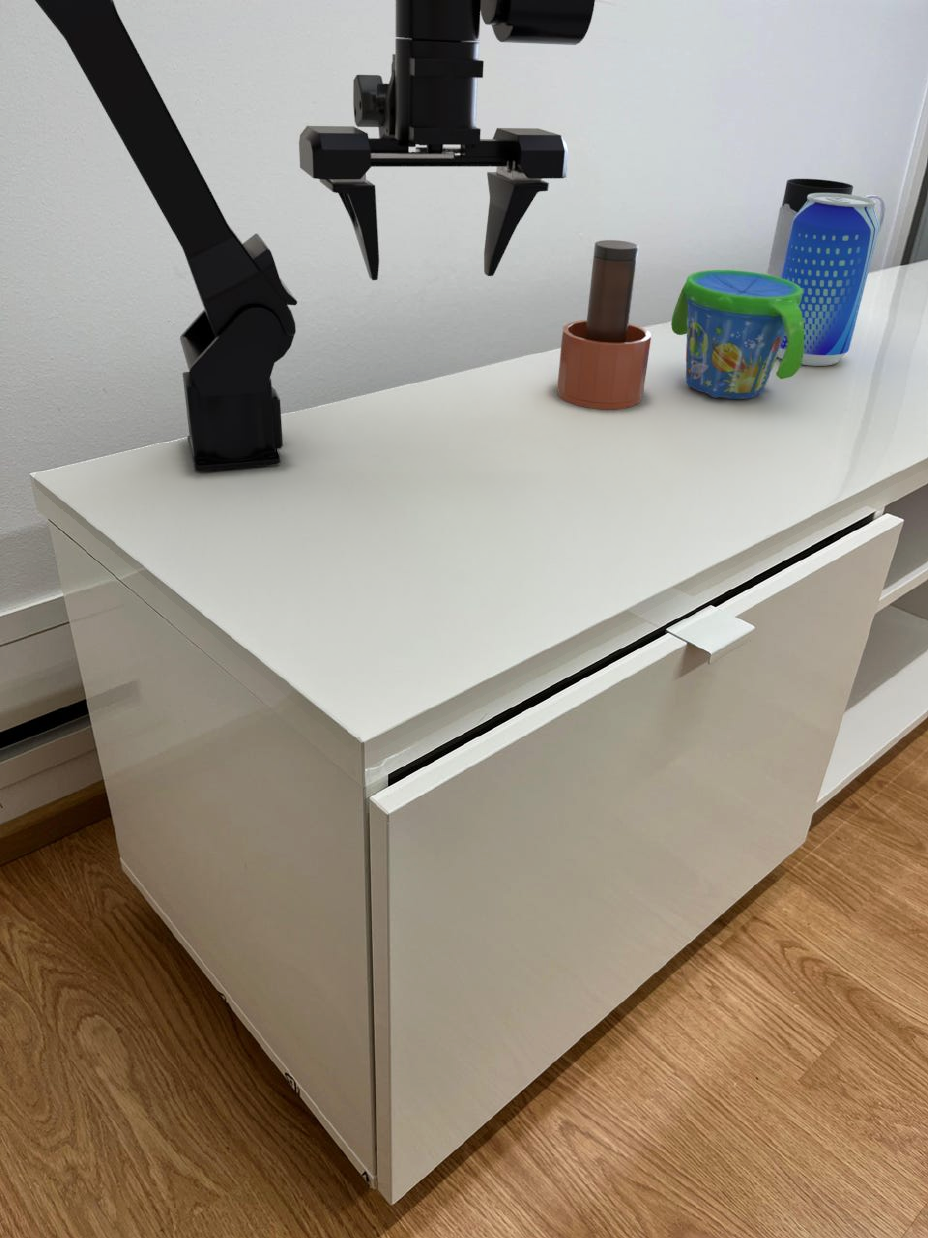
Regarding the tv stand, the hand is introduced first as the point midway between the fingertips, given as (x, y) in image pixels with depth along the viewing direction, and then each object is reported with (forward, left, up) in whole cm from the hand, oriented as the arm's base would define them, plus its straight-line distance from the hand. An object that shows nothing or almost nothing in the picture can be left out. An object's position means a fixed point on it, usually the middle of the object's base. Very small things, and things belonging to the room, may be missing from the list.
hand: (432, 276), depth 75 cm
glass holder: (+59, +30, -13) cm, 67 cm away
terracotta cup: (+19, +7, -13) cm, 24 cm away
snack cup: (+32, +6, -13) cm, 35 cm away
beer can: (+47, +14, -13) cm, 51 cm away
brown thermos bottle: (+19, +7, -12) cm, 24 cm away
